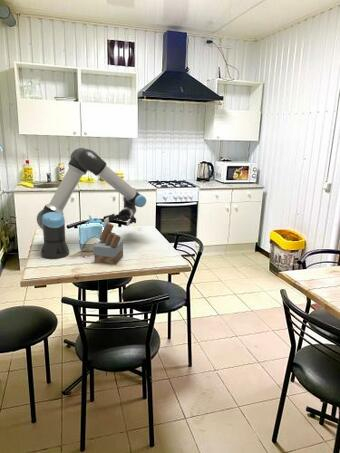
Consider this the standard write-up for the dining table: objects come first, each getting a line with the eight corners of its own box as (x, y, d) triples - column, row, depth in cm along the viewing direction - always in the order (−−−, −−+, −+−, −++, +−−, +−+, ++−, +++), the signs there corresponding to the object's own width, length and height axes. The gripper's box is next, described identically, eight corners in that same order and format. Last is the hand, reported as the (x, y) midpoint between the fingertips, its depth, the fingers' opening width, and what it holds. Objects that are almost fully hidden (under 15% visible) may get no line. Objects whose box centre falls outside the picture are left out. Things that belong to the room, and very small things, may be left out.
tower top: (93, 254, 185) (93, 246, 183) (103, 246, 198) (103, 238, 197) (114, 257, 182) (114, 248, 181) (123, 248, 196) (123, 240, 194)
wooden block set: (118, 251, 184) (125, 234, 182) (103, 246, 179) (111, 229, 178) (110, 239, 199) (117, 224, 198) (97, 235, 195) (103, 219, 194)
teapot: (81, 234, 235) (81, 219, 232) (90, 228, 249) (89, 214, 246) (102, 236, 232) (101, 221, 230) (109, 229, 247) (109, 216, 244)
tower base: (94, 263, 186) (94, 255, 185) (103, 254, 199) (102, 246, 198) (116, 265, 185) (116, 256, 183) (123, 256, 198) (123, 248, 197)
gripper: (144, 221, 219) (136, 230, 198) (106, 218, 222) (95, 227, 202) (144, 210, 217) (136, 218, 196) (106, 207, 220) (95, 215, 200)
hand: (115, 223), depth 199 cm, fingers open, 13 cm apart
